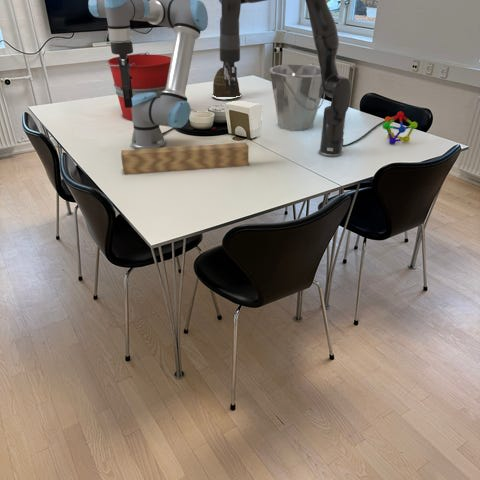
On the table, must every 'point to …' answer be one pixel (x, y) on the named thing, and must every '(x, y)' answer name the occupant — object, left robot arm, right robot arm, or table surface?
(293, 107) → the bucket
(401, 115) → the educational toy
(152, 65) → the bucket
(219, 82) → the bell
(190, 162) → the beam
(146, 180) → the table surface
